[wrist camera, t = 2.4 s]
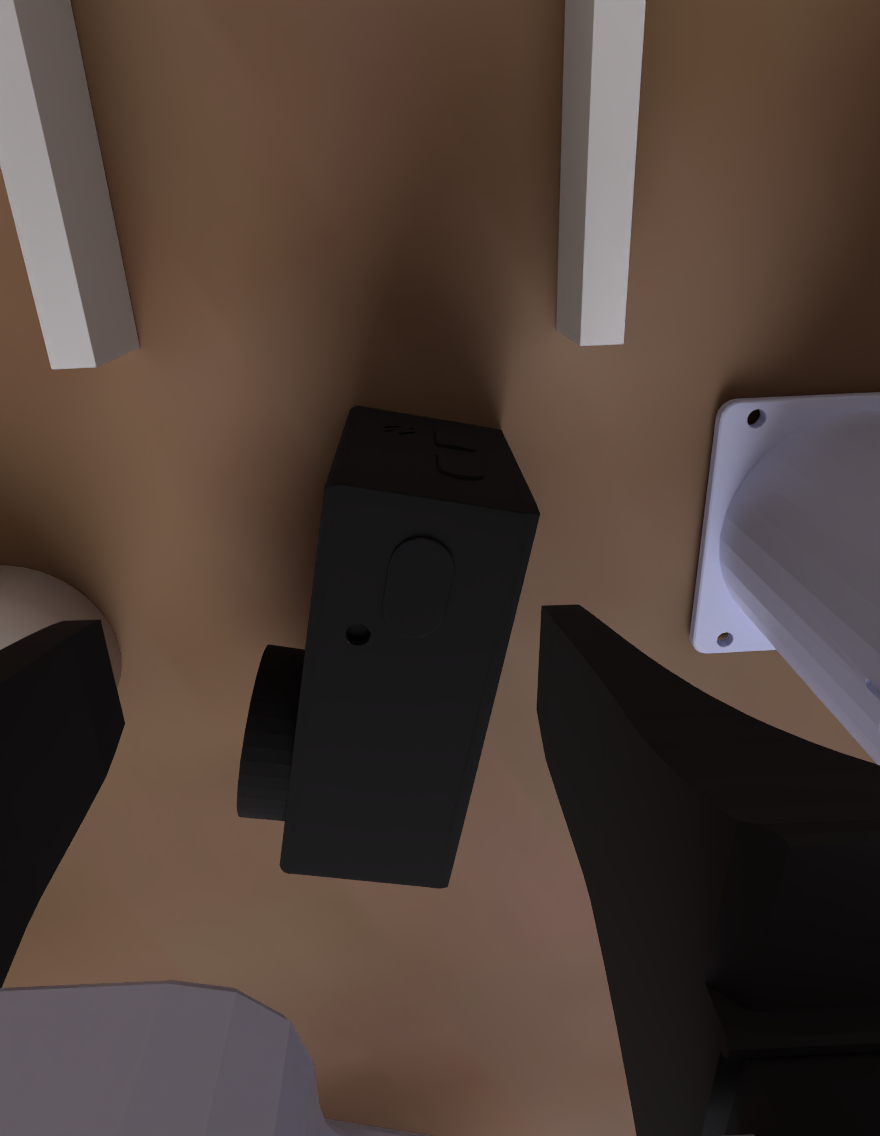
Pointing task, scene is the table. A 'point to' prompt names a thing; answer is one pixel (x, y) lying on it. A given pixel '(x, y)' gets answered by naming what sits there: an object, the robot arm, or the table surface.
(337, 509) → the digital camera
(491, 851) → the table surface
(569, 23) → the frame
